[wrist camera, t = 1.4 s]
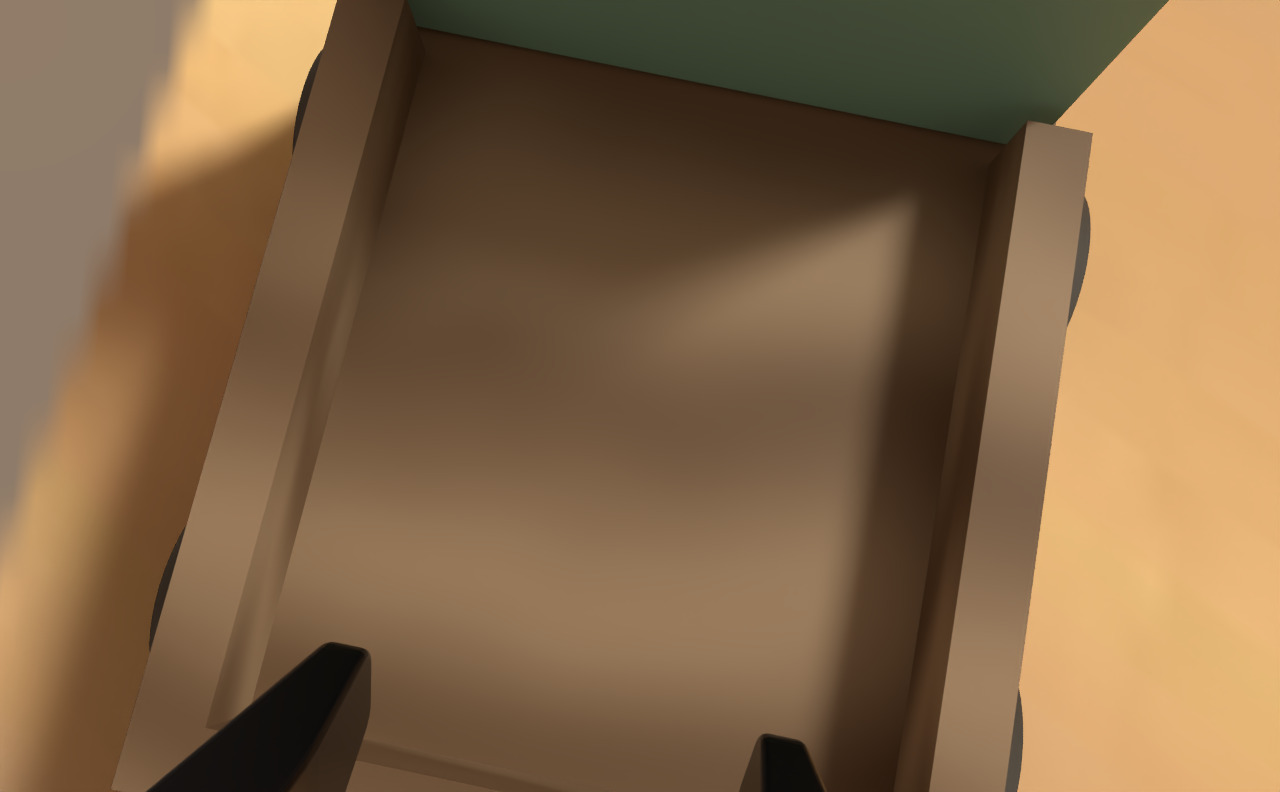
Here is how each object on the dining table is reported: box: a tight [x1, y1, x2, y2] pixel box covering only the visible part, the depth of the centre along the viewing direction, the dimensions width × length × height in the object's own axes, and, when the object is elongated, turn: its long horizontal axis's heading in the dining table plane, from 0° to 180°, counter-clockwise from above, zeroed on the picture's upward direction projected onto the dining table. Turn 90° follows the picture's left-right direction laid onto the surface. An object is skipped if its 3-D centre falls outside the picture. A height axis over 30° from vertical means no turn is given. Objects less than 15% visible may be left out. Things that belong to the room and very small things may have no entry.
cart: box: [111, 0, 1093, 792], centre depth 21 cm, size 16×16×6 cm
